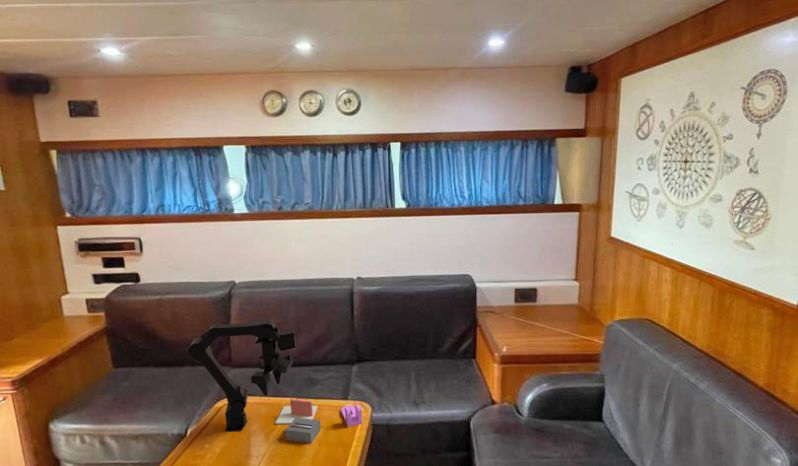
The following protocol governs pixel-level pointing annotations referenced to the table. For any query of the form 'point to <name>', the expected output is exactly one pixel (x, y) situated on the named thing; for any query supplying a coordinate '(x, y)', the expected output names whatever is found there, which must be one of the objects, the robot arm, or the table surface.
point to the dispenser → (303, 430)
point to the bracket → (355, 417)
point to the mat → (292, 415)
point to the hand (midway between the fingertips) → (272, 389)
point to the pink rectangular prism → (301, 407)
